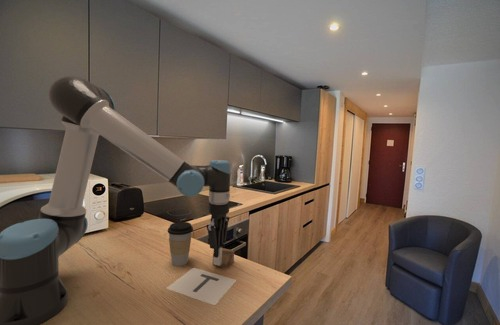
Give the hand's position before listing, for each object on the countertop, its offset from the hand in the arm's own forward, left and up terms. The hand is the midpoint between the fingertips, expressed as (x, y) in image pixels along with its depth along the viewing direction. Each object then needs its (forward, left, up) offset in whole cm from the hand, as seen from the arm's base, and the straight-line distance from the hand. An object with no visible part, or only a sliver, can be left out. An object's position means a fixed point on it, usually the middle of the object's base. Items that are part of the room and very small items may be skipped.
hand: (217, 264), depth 87 cm
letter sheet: (-11, -1, -2) cm, 11 cm away
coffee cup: (-3, +15, -2) cm, 15 cm away
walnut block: (+4, 0, -2) cm, 4 cm away
